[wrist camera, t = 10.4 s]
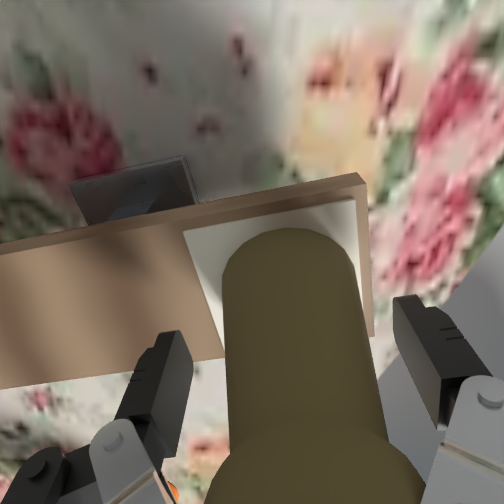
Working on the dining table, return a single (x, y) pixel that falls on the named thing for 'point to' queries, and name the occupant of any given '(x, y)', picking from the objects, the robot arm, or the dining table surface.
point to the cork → (303, 382)
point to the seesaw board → (153, 279)
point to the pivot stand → (135, 191)
